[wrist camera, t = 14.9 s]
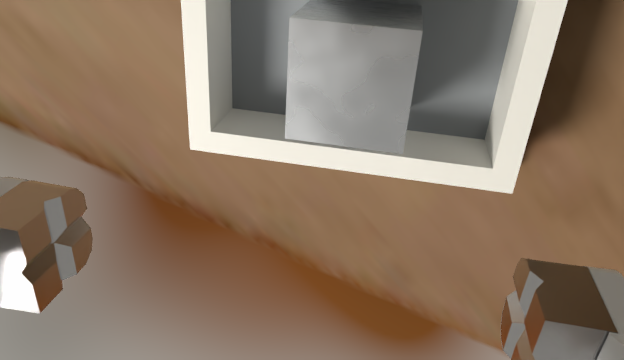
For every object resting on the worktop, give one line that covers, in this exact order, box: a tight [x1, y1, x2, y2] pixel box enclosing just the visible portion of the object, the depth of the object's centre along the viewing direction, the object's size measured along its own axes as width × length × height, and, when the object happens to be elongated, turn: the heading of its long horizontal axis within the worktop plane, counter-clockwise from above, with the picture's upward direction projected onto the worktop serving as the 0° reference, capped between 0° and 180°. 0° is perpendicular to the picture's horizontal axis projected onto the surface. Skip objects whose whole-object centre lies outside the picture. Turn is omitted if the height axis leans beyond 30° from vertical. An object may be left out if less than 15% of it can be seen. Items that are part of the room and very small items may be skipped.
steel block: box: [285, 0, 423, 154], centre depth 20 cm, size 4×4×5 cm
